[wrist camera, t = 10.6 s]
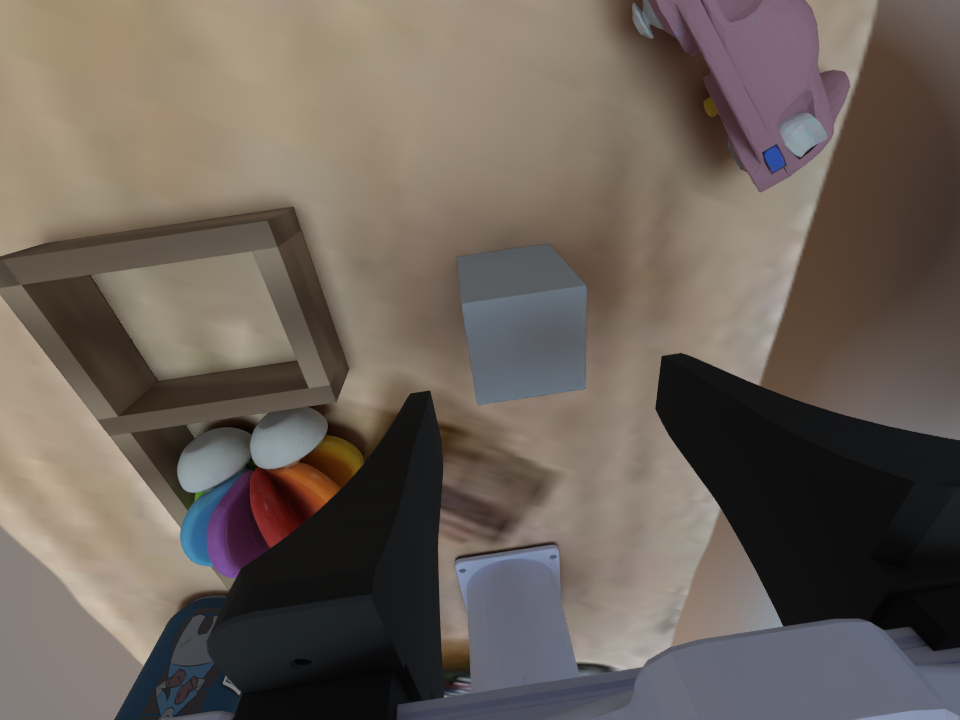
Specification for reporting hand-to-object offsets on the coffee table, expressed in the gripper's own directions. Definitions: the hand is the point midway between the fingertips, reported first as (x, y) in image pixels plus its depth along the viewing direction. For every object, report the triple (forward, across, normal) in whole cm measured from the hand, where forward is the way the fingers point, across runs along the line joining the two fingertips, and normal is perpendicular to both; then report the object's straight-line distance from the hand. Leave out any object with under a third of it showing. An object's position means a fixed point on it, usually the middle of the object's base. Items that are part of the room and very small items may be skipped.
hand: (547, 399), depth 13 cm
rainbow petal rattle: (+10, +14, +9) cm, 19 cm away
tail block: (+9, 0, 0) cm, 9 cm away
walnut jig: (+9, +14, +6) cm, 18 cm away
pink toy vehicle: (+10, -9, -9) cm, 16 cm away
